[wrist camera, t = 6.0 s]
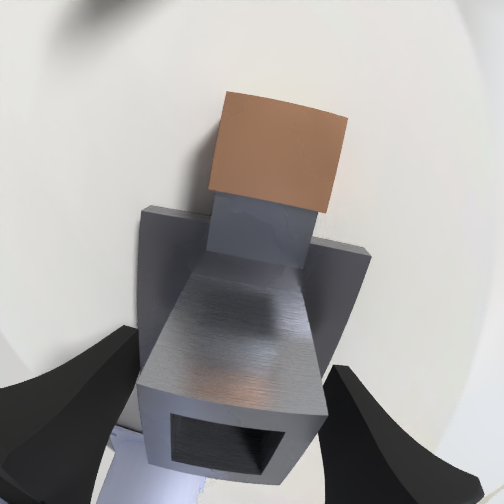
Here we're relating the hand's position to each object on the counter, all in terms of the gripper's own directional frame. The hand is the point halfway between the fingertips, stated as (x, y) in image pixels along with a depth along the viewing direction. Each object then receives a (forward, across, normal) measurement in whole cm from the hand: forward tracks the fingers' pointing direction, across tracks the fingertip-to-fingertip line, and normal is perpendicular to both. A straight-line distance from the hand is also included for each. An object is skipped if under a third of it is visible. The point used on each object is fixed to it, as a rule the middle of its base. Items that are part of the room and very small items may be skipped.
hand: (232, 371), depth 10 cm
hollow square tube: (+2, 0, 0) cm, 2 cm away
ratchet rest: (+3, 0, -2) cm, 4 cm away
